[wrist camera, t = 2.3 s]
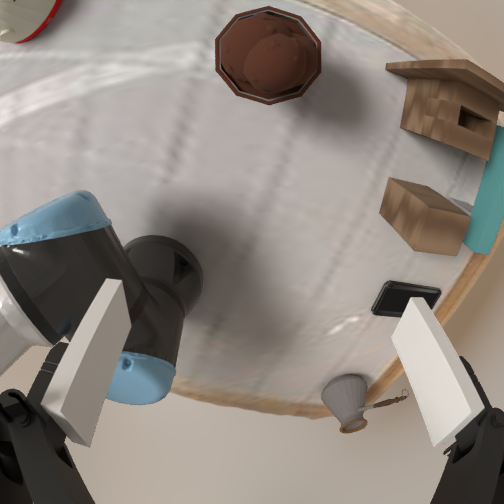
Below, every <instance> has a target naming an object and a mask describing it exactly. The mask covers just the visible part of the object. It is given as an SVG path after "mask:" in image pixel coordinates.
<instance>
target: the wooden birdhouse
mask: <svg viewBox="0 0 504 504" xmlns="http://www.w3.org/2000/svg"><path fill="white" fill-rule="evenodd" d="M385 70H388V71H391V72H394V73H397V74H400V75H402V76H405V77H408V78H409V79H408V86H407V92H406V98H405V104H404V110H403V115H402V120H401V126H400V128H403V129H406V130H409V131H412V132H415V133H418V134H421V135H424V136H427V137H429V138H432V139H435V140H437V141H440V142H443V143H445V144H448V145H450V146H453V147H456V148H458V149H461V150H463V151H466V152H468V153H470V154H473V155H475V156H478V157H480V158H482V159H484V160H487V161H489V157H490V153H491V149H492V145H493V140H494V135H495V130H496V125H497V120H498V114H499V111H502V112H504V83H503V82H502V81H500V80H499V79H497V78H496V77H494V76H493V75H491V74H490V73H488V72H487V71H485V70H484V69H482V68H480V67H479V66H477V65H475V64H474V63H472V62H470V61H469V60H422V61H407V62H395V63H386V69H385Z"/></svg>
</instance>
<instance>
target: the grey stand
mask: <svg viewBox="0 0 504 504" xmlns="http://www.w3.org/2000/svg"><path fill="white" fill-rule="evenodd" d="M449 201H450V202H452V203H453V204H454V205H456V206H457V207H458V208H460V209H461V210H463V211H464V212H465V213H467V214H468V215H469V216H470V215H471V212H472V209H473V206H471V205H470V204H468V203H466V202H462V201H459V200H455V199H451V198H449Z"/></svg>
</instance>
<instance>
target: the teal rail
mask: <svg viewBox="0 0 504 504" xmlns="http://www.w3.org/2000/svg"><path fill="white" fill-rule="evenodd" d="M470 216H471V217H472V218H471V220H470V223H469V226H468V229H467V231H466V234H465V236H464V239H463V242H464V243H465V244H466V245H467V246H468V247H469V248H470V249H471V250H472V251H473V252H474V253H480V254H487V255H489V253H490V250H491V248H492V246H493V243H494V241H495V238H496V236H497V233H498V231H499V228H500V225H501V223H502V220H503V217H504V127H501V126H498V125H496V130H495V135H494V140H493V145H492V149H491V153H490V157H489V161H487V162H486V166H485V170H484V173H483V177H482V180H481V184H480V187H479V191H478V194H477V197H476V200H475V203H474V206H473V209H472V212H471V215H470Z"/></svg>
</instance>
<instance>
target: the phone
mask: <svg viewBox="0 0 504 504" xmlns="http://www.w3.org/2000/svg"><path fill="white" fill-rule="evenodd" d="M440 295H441V291H440V289H439V288H435V287H429V286H422V285H416V284H409V283H403V282H397V281H387V282H386V283H385V284H384V285H383V287H382V289H381V291H380V293H379V295H378V297H377V299H376V301H375V303H374V305H373V306H372V309H371V311H372V313H373V314H374V315H378V316H389V317H402V315H403V313H404V311H405V309H406V307H407V304H408V302H409V300H410V298H411V297H423V298H424V300H425V301H426V303H427V304H428V306H429V307H430V309H431V310H432V308H433V307H434V305H435V303H436V302H437V300H438V298H439V297H440Z"/></svg>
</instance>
